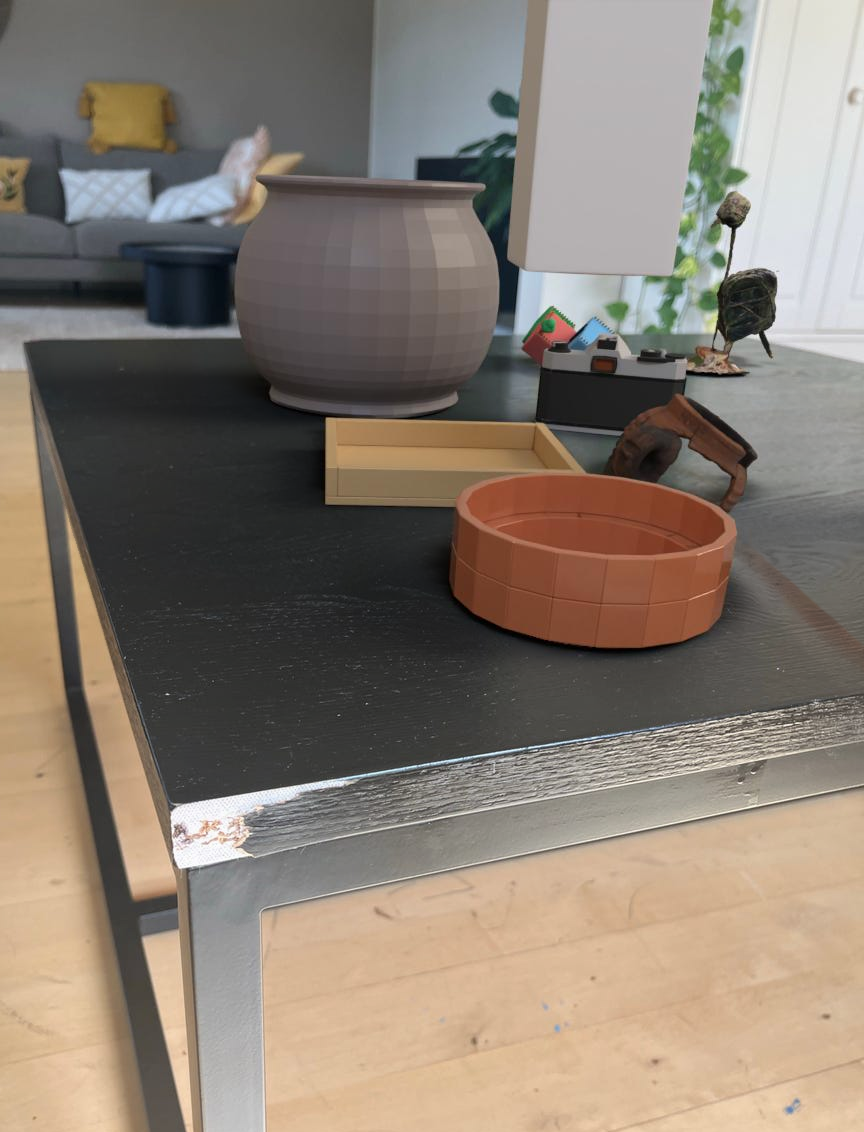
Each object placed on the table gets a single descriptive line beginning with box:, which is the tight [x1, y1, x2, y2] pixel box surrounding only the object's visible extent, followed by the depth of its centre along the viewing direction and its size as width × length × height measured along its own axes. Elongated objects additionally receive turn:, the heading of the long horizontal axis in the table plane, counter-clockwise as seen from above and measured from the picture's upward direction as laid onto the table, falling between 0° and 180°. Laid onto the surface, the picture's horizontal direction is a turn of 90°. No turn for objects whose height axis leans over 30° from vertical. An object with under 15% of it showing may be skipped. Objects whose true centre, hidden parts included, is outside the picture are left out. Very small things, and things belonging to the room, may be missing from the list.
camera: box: [534, 333, 688, 437], centre depth 89 cm, size 13×8×9 cm, turn 77°
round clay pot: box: [234, 173, 500, 419], centre depth 93 cm, size 25×25×20 cm
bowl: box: [448, 472, 738, 649], centre depth 52 cm, size 14×14×5 cm
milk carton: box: [506, 0, 714, 277], centre depth 46 cm, size 7×7×19 cm
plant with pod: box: [685, 190, 779, 375], centre depth 115 cm, size 8×11×20 cm
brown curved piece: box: [601, 394, 759, 514], centre depth 69 cm, size 12×10×8 cm
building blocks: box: [521, 304, 616, 366], centre depth 117 cm, size 8×8×12 cm
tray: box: [324, 417, 587, 508], centre depth 73 cm, size 18×15×3 cm
